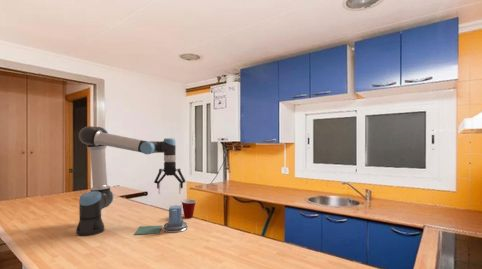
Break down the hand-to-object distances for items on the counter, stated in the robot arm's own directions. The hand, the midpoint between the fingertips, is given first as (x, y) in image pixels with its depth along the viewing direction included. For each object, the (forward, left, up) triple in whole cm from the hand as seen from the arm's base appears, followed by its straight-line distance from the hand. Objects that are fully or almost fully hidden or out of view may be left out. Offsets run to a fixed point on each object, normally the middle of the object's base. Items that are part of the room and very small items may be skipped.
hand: (170, 193), depth 183 cm
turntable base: (+5, -11, -20) cm, 23 cm away
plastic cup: (+12, +13, -20) cm, 27 cm away
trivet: (-11, -12, -20) cm, 26 cm away
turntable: (+5, -8, -19) cm, 21 cm away
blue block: (+5, -12, -17) cm, 22 cm away
